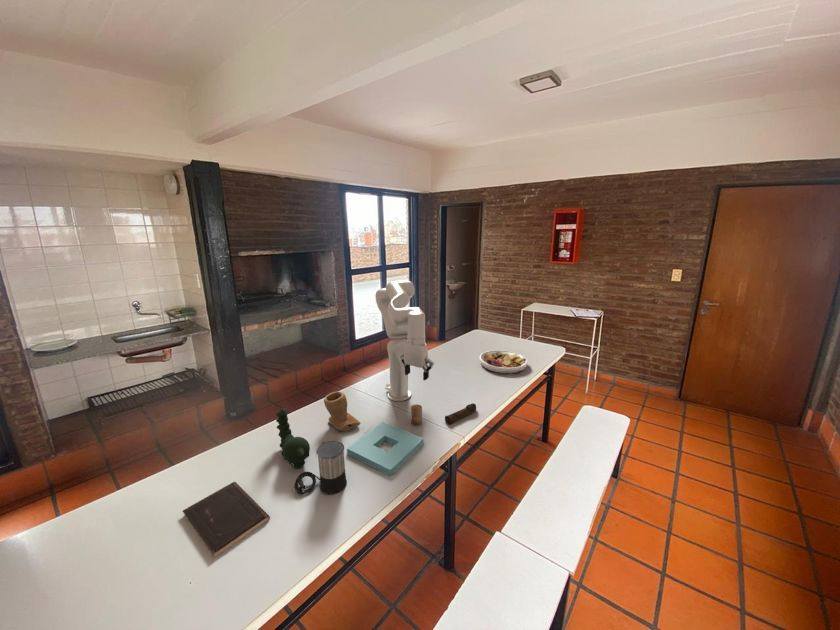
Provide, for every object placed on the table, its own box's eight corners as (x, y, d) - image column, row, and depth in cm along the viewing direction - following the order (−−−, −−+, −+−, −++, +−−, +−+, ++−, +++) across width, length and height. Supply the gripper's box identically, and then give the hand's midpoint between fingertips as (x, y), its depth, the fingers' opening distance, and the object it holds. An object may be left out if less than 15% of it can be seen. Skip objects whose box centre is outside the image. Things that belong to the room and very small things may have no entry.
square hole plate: (347, 453, 132) (346, 448, 131) (382, 426, 150) (382, 421, 149) (390, 475, 120) (390, 470, 120) (423, 443, 138) (423, 438, 137)
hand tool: (449, 426, 150) (449, 417, 149) (444, 422, 154) (444, 413, 152) (479, 413, 161) (480, 404, 160) (474, 409, 164) (474, 401, 163)
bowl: (490, 353, 236) (491, 343, 234) (533, 363, 219) (534, 352, 217) (471, 367, 213) (471, 356, 211) (517, 380, 196) (517, 367, 194)
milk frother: (352, 485, 116) (349, 448, 112) (309, 511, 105) (305, 472, 102) (331, 465, 126) (328, 430, 122) (290, 487, 115) (286, 450, 111)
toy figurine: (273, 450, 137) (292, 481, 117) (267, 408, 133) (285, 432, 113) (296, 442, 142) (318, 470, 122) (291, 400, 139) (312, 422, 119)
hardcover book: (214, 560, 91) (212, 553, 90) (183, 516, 104) (182, 510, 104) (270, 520, 103) (269, 514, 102) (236, 486, 117) (235, 480, 116)
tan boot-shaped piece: (321, 422, 154) (319, 392, 150) (345, 413, 161) (343, 384, 157) (337, 437, 142) (334, 406, 138) (361, 427, 150) (359, 397, 146)
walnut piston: (409, 423, 152) (408, 408, 150) (415, 418, 156) (415, 403, 154) (418, 427, 149) (418, 411, 147) (424, 421, 153) (424, 406, 151)
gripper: (395, 338, 144) (395, 375, 148) (428, 346, 135) (428, 384, 139) (405, 334, 150) (405, 369, 154) (438, 341, 141) (437, 378, 145)
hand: (416, 376), depth 147 cm, fingers open, 9 cm apart
